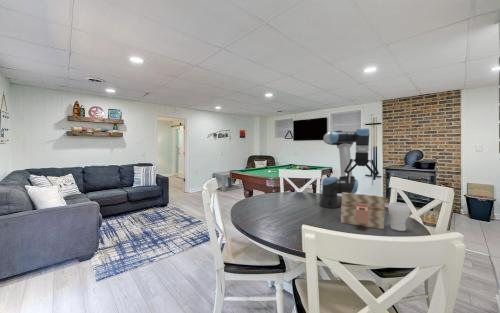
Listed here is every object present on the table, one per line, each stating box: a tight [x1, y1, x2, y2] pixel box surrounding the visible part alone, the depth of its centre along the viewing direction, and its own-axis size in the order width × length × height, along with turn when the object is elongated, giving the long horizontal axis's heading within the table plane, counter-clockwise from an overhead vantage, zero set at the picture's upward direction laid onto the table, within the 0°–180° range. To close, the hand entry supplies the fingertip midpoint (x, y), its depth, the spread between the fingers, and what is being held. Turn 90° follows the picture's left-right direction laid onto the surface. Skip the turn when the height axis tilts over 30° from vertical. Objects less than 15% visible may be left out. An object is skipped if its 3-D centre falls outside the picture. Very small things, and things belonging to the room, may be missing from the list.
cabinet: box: [356, 203, 368, 224], centre depth 132 cm, size 6×10×9 cm, turn 152°
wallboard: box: [340, 192, 386, 230], centre depth 136 cm, size 24×5×19 cm, turn 62°
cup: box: [387, 201, 411, 232], centre depth 129 cm, size 11×11×15 cm
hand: (360, 183), depth 142 cm, fingers open, 13 cm apart
